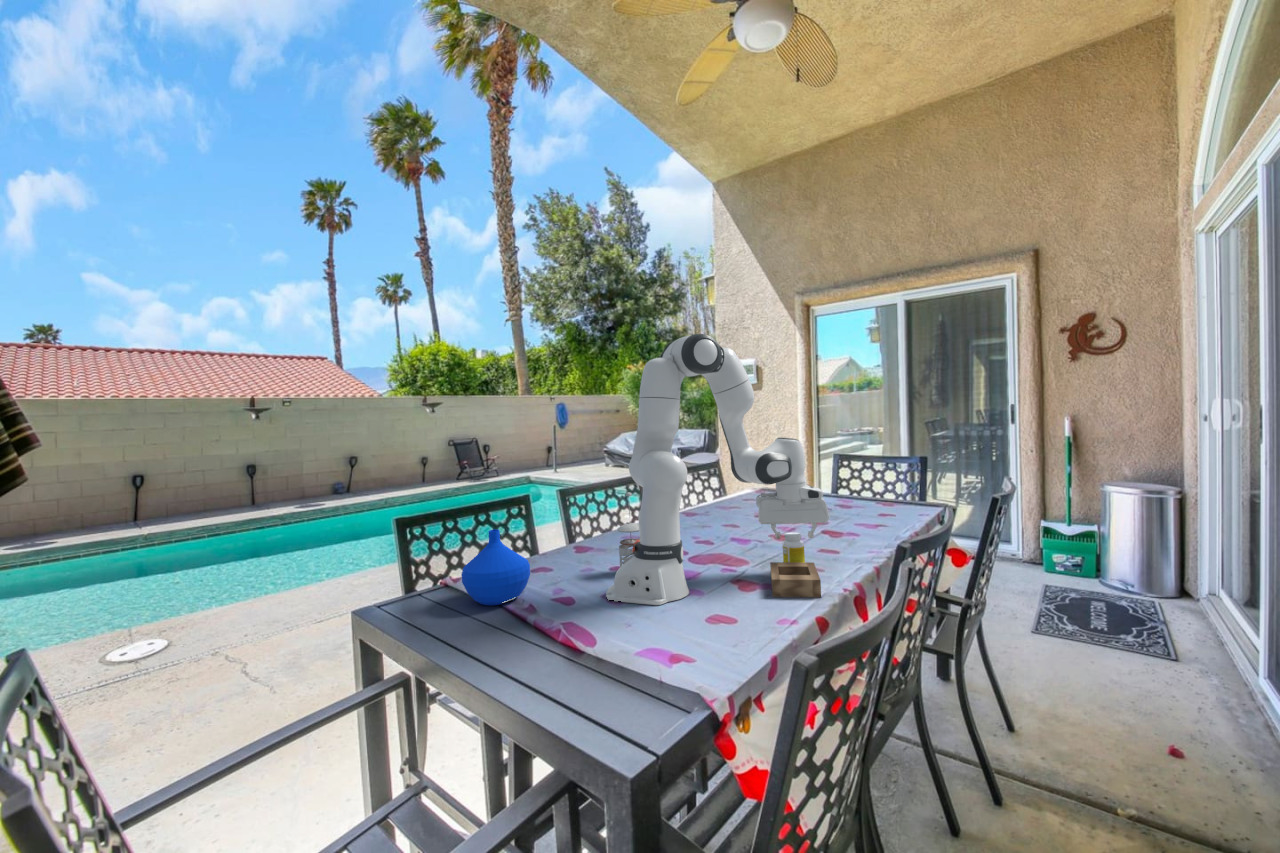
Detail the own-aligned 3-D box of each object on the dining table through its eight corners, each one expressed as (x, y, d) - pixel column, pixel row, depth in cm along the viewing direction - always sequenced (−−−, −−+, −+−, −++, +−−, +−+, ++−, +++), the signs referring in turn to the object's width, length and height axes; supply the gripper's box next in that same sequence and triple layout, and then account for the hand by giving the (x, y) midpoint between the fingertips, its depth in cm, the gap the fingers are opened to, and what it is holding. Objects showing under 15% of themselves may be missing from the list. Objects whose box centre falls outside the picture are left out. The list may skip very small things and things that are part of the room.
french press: (616, 569, 175) (611, 491, 174) (651, 565, 176) (647, 488, 175) (618, 578, 165) (613, 495, 164) (656, 574, 166) (651, 492, 165)
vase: (541, 588, 158) (537, 523, 158) (516, 611, 140) (511, 537, 140) (482, 588, 161) (478, 524, 161) (450, 611, 143) (445, 538, 143)
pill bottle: (809, 570, 162) (807, 533, 162) (799, 575, 158) (797, 537, 158) (789, 567, 167) (788, 531, 166) (779, 572, 162) (778, 535, 162)
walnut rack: (772, 596, 141) (771, 579, 141) (771, 577, 157) (770, 562, 157) (821, 597, 139) (820, 579, 139) (814, 578, 154) (813, 562, 154)
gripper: (755, 494, 161) (758, 541, 161) (828, 492, 157) (831, 540, 157) (755, 491, 167) (758, 536, 167) (825, 488, 163) (828, 534, 163)
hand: (794, 538), depth 162 cm, fingers open, 8 cm apart
